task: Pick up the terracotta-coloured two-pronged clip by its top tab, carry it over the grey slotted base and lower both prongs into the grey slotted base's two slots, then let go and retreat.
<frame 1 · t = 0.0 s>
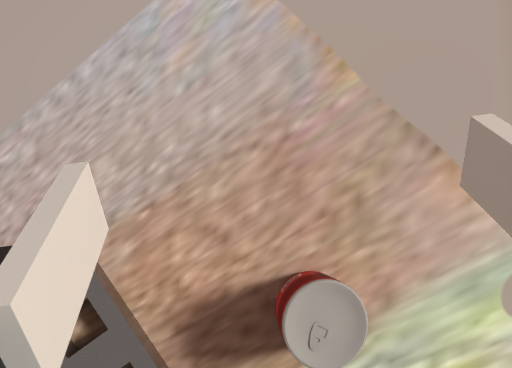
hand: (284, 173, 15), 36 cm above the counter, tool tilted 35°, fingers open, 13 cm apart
canned food: (308, 305, 50), on the counter
grey slotted base: (107, 352, 49), on the counter
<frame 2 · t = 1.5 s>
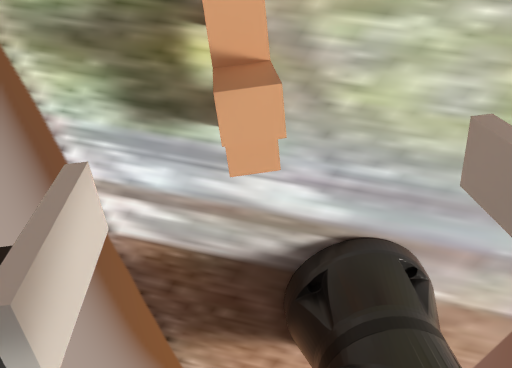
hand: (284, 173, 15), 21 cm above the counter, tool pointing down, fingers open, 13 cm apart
clip: (238, 60, 34), on the counter
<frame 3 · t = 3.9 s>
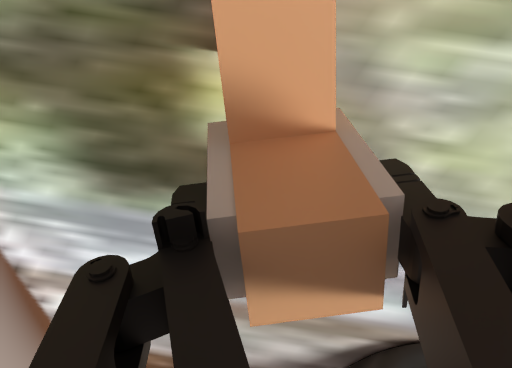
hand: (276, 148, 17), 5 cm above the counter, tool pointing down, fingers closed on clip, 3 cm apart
clip: (262, 105, 22), on the counter, touching gripper
when the fingers open (6 cm above the counter, at t = 8.0 s): clip drops 1 cm, on the counter.
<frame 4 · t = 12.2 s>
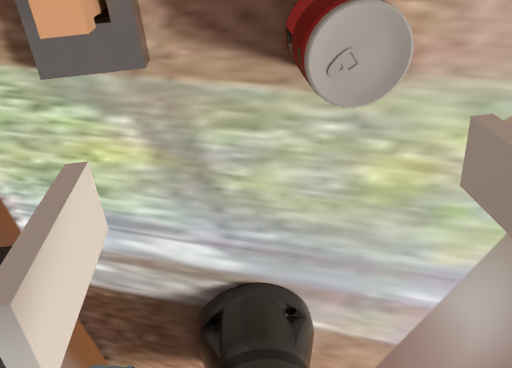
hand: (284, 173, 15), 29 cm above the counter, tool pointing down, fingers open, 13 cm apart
canned food: (325, 28, 41), on the counter
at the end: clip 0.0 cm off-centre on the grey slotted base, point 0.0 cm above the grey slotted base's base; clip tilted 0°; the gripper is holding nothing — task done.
